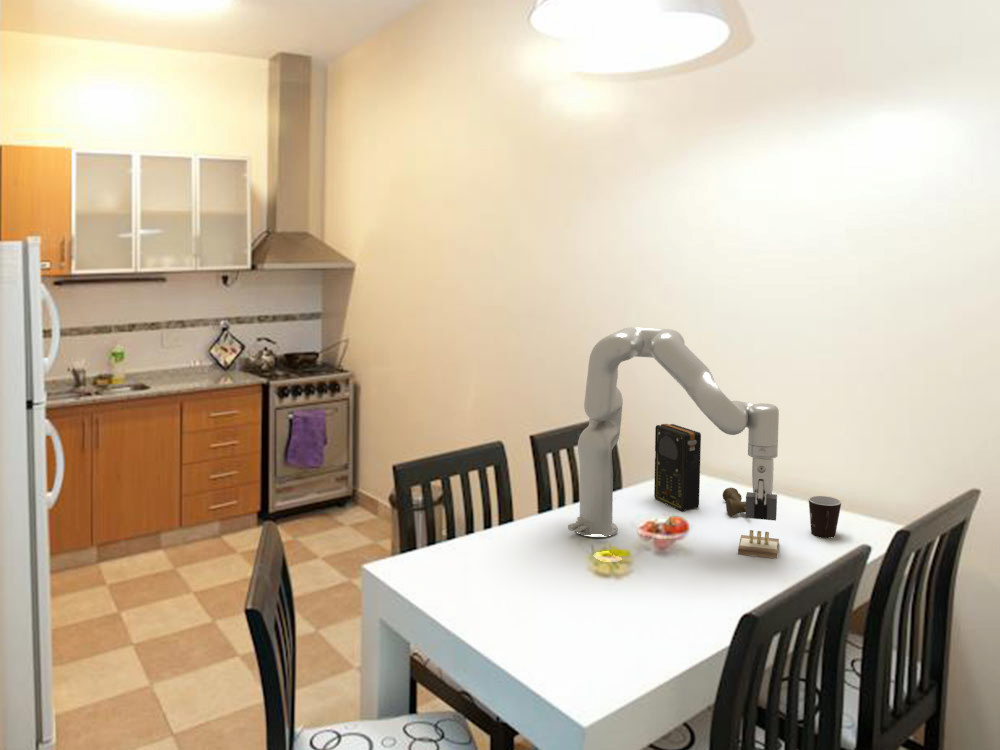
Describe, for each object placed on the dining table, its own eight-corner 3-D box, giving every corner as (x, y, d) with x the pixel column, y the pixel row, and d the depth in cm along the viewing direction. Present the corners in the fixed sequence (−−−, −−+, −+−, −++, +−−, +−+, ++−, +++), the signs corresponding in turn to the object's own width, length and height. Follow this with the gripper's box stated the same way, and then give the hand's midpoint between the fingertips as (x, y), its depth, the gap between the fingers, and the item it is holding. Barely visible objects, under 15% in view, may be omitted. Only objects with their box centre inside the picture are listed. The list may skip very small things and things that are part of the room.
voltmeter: (650, 498, 261) (652, 424, 257) (672, 495, 264) (673, 421, 260) (680, 513, 247) (682, 434, 243) (702, 508, 250) (705, 431, 246)
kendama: (744, 502, 257) (766, 522, 237) (715, 504, 257) (734, 523, 237) (744, 484, 256) (766, 502, 237) (715, 486, 256) (734, 504, 237)
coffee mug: (812, 526, 233) (814, 494, 231) (843, 533, 228) (845, 499, 226) (798, 538, 224) (800, 504, 223) (830, 545, 219) (832, 510, 217)
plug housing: (776, 520, 212) (776, 499, 211) (745, 517, 215) (746, 496, 214) (776, 515, 216) (777, 494, 215) (746, 513, 218) (746, 492, 217)
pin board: (777, 558, 210) (778, 540, 209) (737, 554, 213) (738, 536, 213) (778, 544, 220) (779, 526, 219) (740, 539, 224) (741, 522, 223)
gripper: (776, 459, 203) (774, 527, 206) (778, 443, 219) (776, 507, 222) (745, 457, 206) (744, 524, 209) (750, 441, 221) (748, 505, 224)
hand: (760, 515), depth 215 cm, fingers closed on plug housing, 4 cm apart
